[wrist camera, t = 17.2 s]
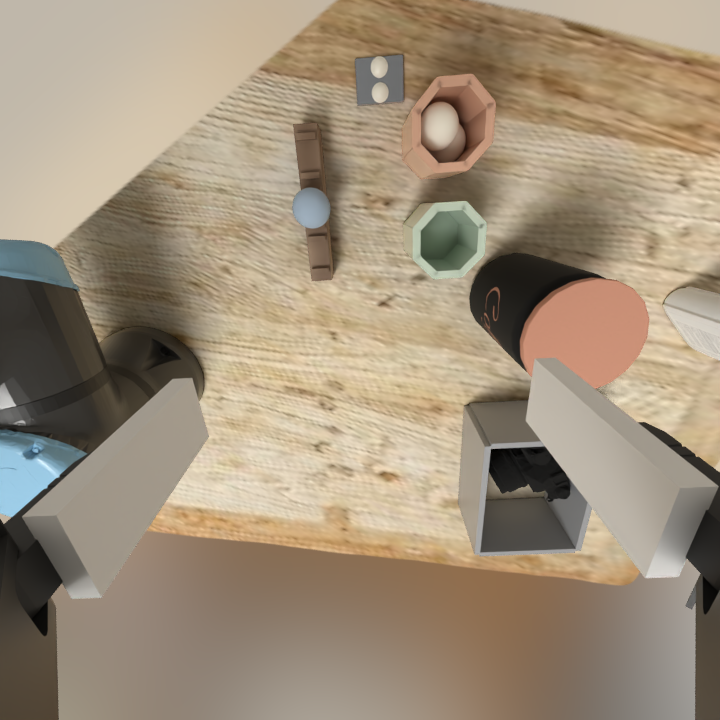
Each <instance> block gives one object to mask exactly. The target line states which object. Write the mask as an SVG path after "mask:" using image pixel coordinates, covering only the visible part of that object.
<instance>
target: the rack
mask: <svg viewBox="0 0 720 720" xmlns="http://www.w3.org/2000/svg"><path fill="white" fill-rule="evenodd" d="M293 127H294V135H295V144H296V152H297V160H298V169H299V177H300V186H301V190H303V189H305V188H316V189H319V190H320V191H322V192H323V193H324V194H325V195H326V196H327V192H326V181H325V171H324V160H323V149H322V138H321V130H320V128H319V126H318V124H317V123H304V124H293ZM305 228H306V227H305ZM306 236H307V245H308V253H309V261H310V270H311V278H312V281H321V280H332V278H333V275H334V268H333V257H332V246H331V235H330V224H329V218H328V220H327V221H326V223H325V224H324V225H322V226H321V227H318V228H306Z"/></svg>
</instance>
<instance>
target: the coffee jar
mask: <svg viewBox="0 0 720 720" xmlns="http://www.w3.org/2000/svg"><path fill="white" fill-rule="evenodd" d="M469 299H470V308H471V312H472V314H473V316H474V318H475V320H476V321H477V322H478V323H479V324H480V325H481V326H482V327H483V328H484V329H485V331H486V332H487V333H488V334H489V335H490V336H491V337H492V338H493V339H494V340H495V341H496V342H497V343H498V344H499V345H500V346H501V347H502V348H503V349H504V350H505V351H506V352H507V353H508V354H509V355H510V356H511V357H512V358H513V359H514V360H515V361H516V362H517V363H518V364H519V365H520V366H521V367H522V368H523V369H524V370H525V371H526V372H528V373H529V375H530V376H531V377H532V373H533V366H534V359H538V358H556V359H558V360H559V361H560V362H562V363H563V364H564V365H565V366H567V367H568V368H569V369H570V370H572V371H573V372H574V373H576V374H577V375H578V376H579V377H581V378H582V379H583V380H584V381H586V382H587V383H588V384H589V385H591V386H592V387H593V388H595V389H597V388H599V387H601V386H603V385H606V384H608V383H610V382H612V381H613V380H614V379H616V378H617V377H618V376H619V375H621V374H622V373H623V372H625V371H626V370H627V369H628V368H629V367H630V365H631V364H632V363H633V362H634V360H635V359H636V358H637V357H638V356H639V354H640V352H641V350H642V348H643V345H644V343H645V341H646V339H647V335H648V326H649V316H648V312H647V309H646V305H645V302H644V301H643V300H642V298H641V297H640V296H639V295H638V294H637V292H636V291H635V290H634V289H633V288H631V287H629V286H627V285H625V284H623V283H621V282H619V281H617V280H612V279H606V278H604V277H602V276H600V275H598V274H594V273H591V272H588V271H584V270H581V269H577V268H574V267H570V266H567V265H564V264H560V263H557V262H553V261H550V260H547V259H543V258H540V257H536V256H533V255H529V254H521V253H513V254H509V255H504V256H501V257H499V258H497V259H495V260H494V261H492V262H490V263H489V264H488V265H487V266H486V267H485V268H484V269H483V270H482V271H481V272H480V273H479V274H478V276H477V278H476V279H475V281H474V283H473V285H472V289H471V293H470V298H469Z"/></svg>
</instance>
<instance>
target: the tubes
mask: <svg viewBox="0 0 720 720" xmlns="http://www.w3.org/2000/svg"><path fill="white" fill-rule="evenodd" d="M355 68H356V86H357V104H358V106H362V105H374V104H387V103H399V102H403V101H404V97H403V55H394V56H378V57H370V58H358V59H355ZM435 102H445V103H448V104H450V105H451V106H452V107H453V108H454V109H455V110H456V112H457V114H458V118H459V124H460V125H461V126H462V128H463V129H464V132H465V135H466V144H465V148H464V150H463V152H462V154H461V155H460V157H459V158H458V159H456V160H455V161H454V162H449V163H438V162H437V160H436V159H435V158H434V157H433V156H432V155H431V154H430V153H429V151H428V149H427V148H425V147H424V146H423V145H422V144H421V114H422V112H423V111H424V110H425V108H427V107H428V106H429V105H431V104H433V103H435ZM495 109H496V101H495V100H494V99H493V98H492V96H491V95H490V94H489V93H488V92H487V90H486V89H485V88H484V87H483V85H482V84H481V83H480V82H479V81H478V79H477V78H476V77H475V76H474V74H473V75H472V74H462V75H450V76H437V77H436V79H435V80H434V81H433V82H432V84H431V85H430V86H429V88H428V89H427V90H426V91H425V93H424V94H423V95H422V97H421V98H420V99H419V100H418V102H417V103H416V104H415V105H414V107H413V108H412V110H411V112H410V114H409V116H408V118H407V120H406V122H405V124H404V126H403V127H402V160H403V161H404V162H405V163H406V164H407V166H408V167H409V168H410V169H411V170H412V171H413V172H414V173H415V174H416V175H417V176H418V177H419V178H420V179H421V180H422V179H435V178H447V177H450V176H453V175H456V174H459V173H462V172H465V171H468V170H469V169H470V168H471V167H472V165H473V164H474V163H475V162H476V161H477V160H478V159H479V158H480V156H481V155H482V154H483V153H484V152H485V151H486V150H487V149H488V147H489V146H490V145H491V144H492V143H493V136H494V123H495ZM486 230H487V223H486V221H485V220H484V219H483V218H482V217H481V216H480V215H479V214H478V213H477V212H476V211H475V210H474V209H473V207H472V206H471V205H470V204H469V203H468V202H467V201H452V202H436V203H422V204H420V205H419V206H418V207H417V209H416V210H415V211H414V212H413V213H412V214H411V215H410V217H409V218H408V219H407V220H406V221H405V222H404V224H403V249H404V251H405V252H406V253H407V254H408V255H409V256H410V257H411V258H412V259H413V260H414V261H415V262H416V263H417V264H418V265H419V266H420V267H421V268H422V269H423V270H424V271H425V272H426V273H427V274H428V275H429V276H430V277H431V278H433V279H446V278H461V277H463V276H464V275H465V274H466V273H467V272H468V271H469V270H470V269H471V268H472V267H473V266H474V265H475V264H476V263H477V262H478V261H479V260H480V259H481V258H482V257H483V256H484V255H485V244H486Z"/></svg>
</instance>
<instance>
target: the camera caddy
mask: <svg viewBox="0 0 720 720" xmlns="http://www.w3.org/2000/svg"><path fill="white" fill-rule="evenodd" d="M528 401H529V400H522V401H503V402H484V403H469V406H464V415H463V431H462V447H461V463H460V479H459V495H458V505H459V508H460V511H461V514H462V517H463V520H464V523H465V526H466V529H467V533H468V536H469V539H470V542H471V545H472V548H473V551H474V554H475V555H480V556H501V555H526V554H552V553H575V551H581V548H582V544H583V540H584V536H585V533H586V529H587V525H588V521H589V518H590V514H591V510H592V507H591V506H590V505H589V503H588V502H587V501H586V500H585V498H584V497H583V496H582V494H581V493H580V492H579V490H578V489H577V488H576V486H575V485H574V484H573V482H572V481H571V480H570V478H569V477H568V476H567V475H566V477H567V479H568V484H569V486H570V496H569V497H568V498H567V499H560V498H559V499H554V500H553V501H552V502H548V501H547V500H550V499H547V500H546V498H547V496H548V494H547V492H546V491H545V494H544V498H522V499H499V500H486V492H487V482H488V472H489V463H490V453H491V449H500V448H521V447H542V446H544V444H543V443H542V442H541V440H540V439H539V438H538V436H537V435H536V434H535V432H534V431H533V430H532V428H531V427H530V426H529V424H528V423H527V422H526V414H527V407H528Z"/></svg>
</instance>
